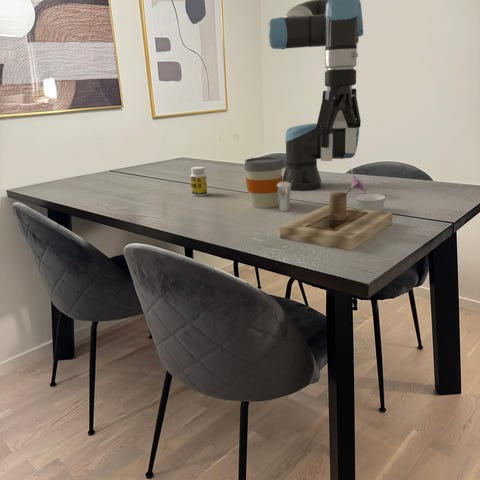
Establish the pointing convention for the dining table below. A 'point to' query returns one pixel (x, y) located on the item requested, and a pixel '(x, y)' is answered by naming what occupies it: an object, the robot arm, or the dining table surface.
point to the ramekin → (370, 202)
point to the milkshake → (284, 195)
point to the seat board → (343, 236)
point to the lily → (357, 183)
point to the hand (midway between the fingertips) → (338, 156)
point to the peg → (337, 209)
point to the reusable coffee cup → (263, 180)
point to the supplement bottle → (198, 181)
